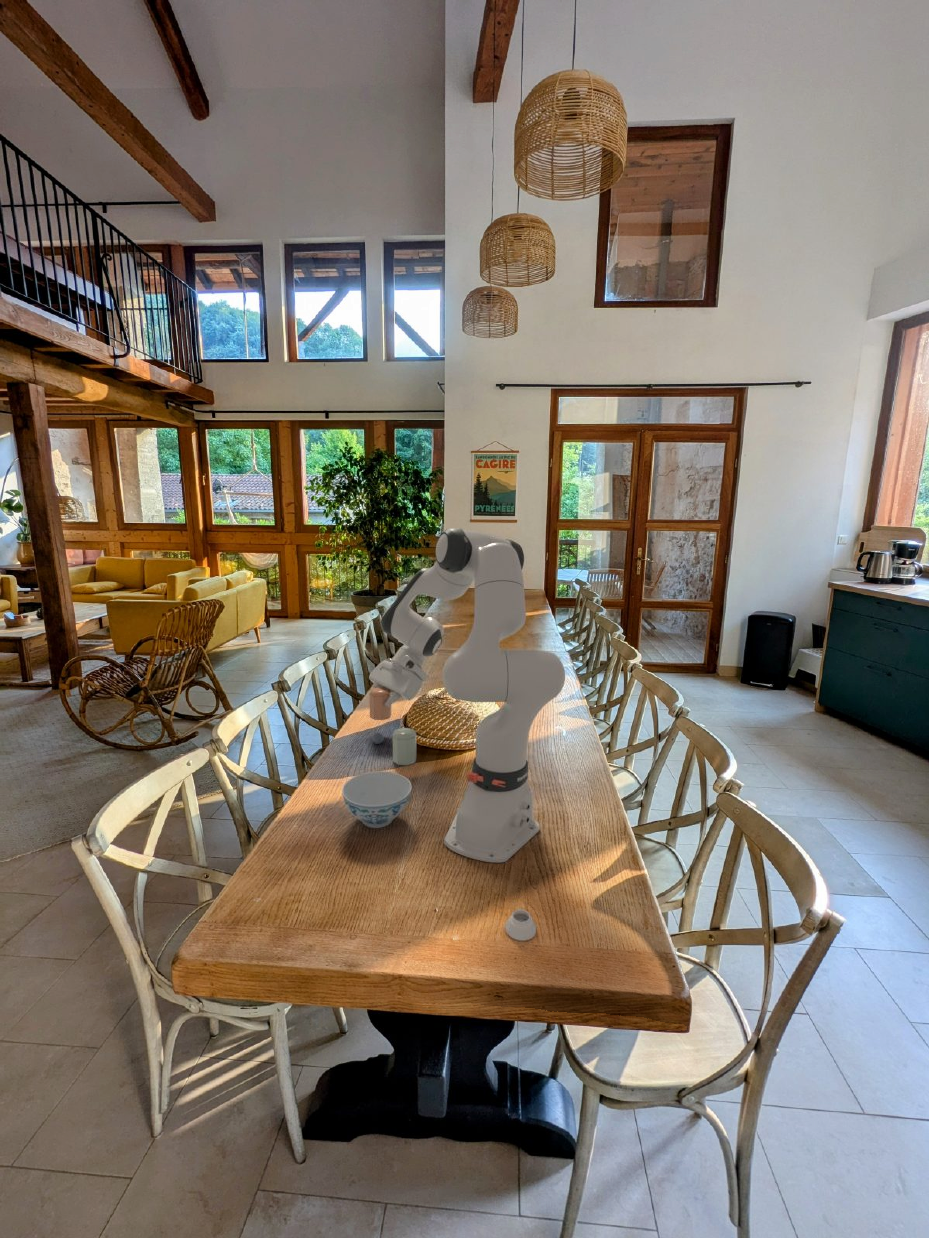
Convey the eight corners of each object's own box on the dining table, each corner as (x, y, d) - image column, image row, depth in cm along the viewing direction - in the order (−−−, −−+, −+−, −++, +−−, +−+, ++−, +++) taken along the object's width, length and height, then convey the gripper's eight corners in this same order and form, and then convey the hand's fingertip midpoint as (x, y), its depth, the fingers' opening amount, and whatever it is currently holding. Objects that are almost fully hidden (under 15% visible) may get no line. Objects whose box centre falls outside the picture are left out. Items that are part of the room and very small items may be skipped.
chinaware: (393, 845, 116) (393, 811, 114) (329, 830, 120) (328, 797, 119) (422, 808, 129) (422, 777, 128) (364, 796, 134) (363, 766, 132)
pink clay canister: (394, 716, 168) (394, 691, 167) (377, 721, 165) (377, 695, 163) (383, 710, 173) (383, 686, 171) (366, 715, 169) (366, 690, 167)
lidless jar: (507, 918, 96) (504, 940, 92) (507, 903, 96) (504, 924, 91) (536, 922, 96) (535, 944, 91) (537, 907, 95) (535, 928, 90)
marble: (379, 746, 161) (379, 736, 160) (370, 744, 162) (370, 734, 162) (385, 742, 164) (385, 732, 163) (376, 740, 165) (376, 730, 165)
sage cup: (420, 760, 153) (420, 733, 151) (401, 767, 149) (401, 738, 147) (407, 753, 157) (407, 726, 156) (389, 759, 153) (389, 731, 152)
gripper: (381, 651, 177) (354, 687, 173) (419, 666, 162) (391, 706, 158) (393, 662, 181) (367, 697, 177) (431, 678, 166) (404, 717, 162)
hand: (378, 702), depth 167 cm, fingers closed on pink clay canister, 6 cm apart
